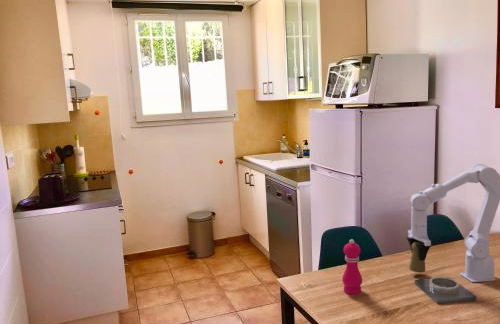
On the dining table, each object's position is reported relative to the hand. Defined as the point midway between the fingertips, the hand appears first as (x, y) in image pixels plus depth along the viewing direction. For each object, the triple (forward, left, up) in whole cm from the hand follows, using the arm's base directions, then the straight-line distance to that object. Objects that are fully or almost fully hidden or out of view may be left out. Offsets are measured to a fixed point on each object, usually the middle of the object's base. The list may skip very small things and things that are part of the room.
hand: (418, 257), depth 159 cm
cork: (0, 0, -5) cm, 5 cm away
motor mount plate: (-2, +15, -7) cm, 17 cm away
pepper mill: (+30, +9, -8) cm, 32 cm away
